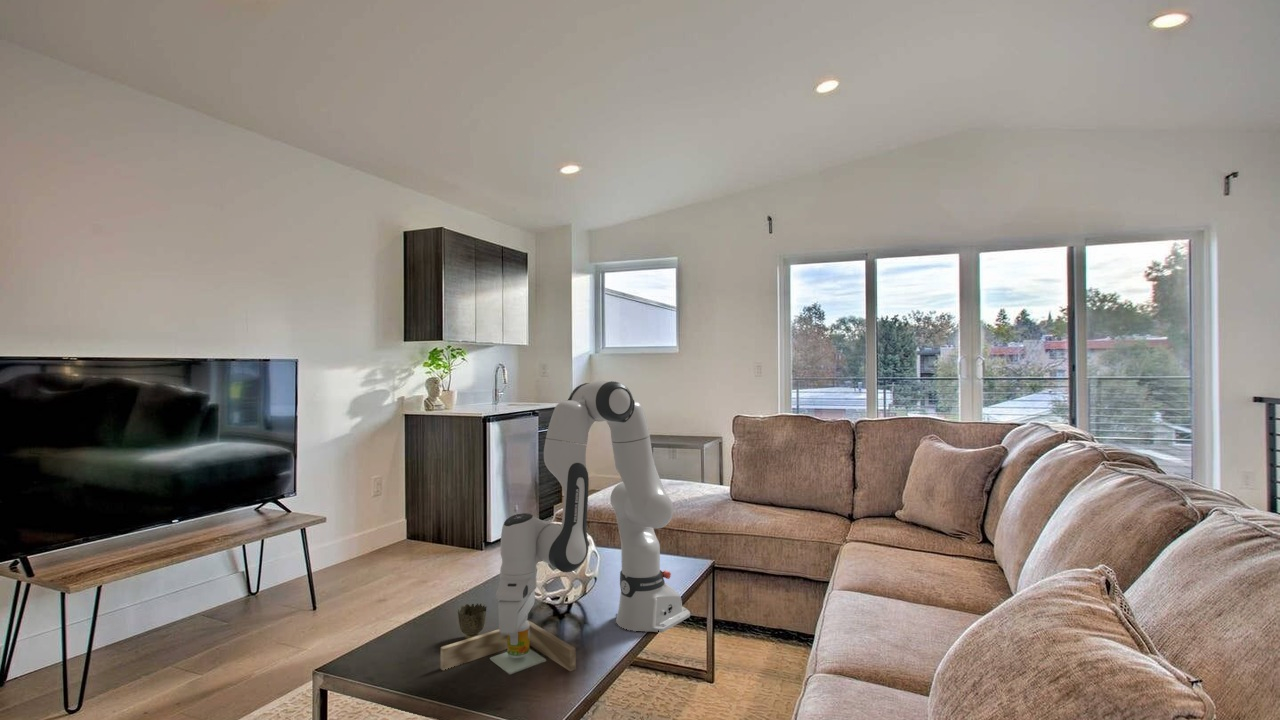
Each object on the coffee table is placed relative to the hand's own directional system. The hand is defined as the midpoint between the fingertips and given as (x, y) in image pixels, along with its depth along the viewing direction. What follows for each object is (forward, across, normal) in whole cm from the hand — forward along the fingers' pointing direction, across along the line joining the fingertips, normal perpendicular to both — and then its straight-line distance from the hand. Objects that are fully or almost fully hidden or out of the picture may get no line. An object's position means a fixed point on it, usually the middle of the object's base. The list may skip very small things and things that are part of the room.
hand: (518, 637), depth 145 cm
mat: (+5, 0, 0) cm, 5 cm away
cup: (+6, -11, -16) cm, 20 cm away
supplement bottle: (+4, 0, 0) cm, 4 cm away
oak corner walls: (+5, +5, -1) cm, 7 cm away
